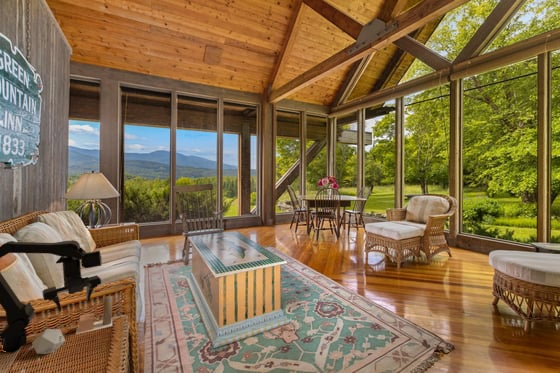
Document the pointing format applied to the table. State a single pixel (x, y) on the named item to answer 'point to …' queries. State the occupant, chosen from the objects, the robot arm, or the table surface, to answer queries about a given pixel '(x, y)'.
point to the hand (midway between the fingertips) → (74, 306)
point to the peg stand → (106, 316)
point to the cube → (86, 322)
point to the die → (48, 341)
